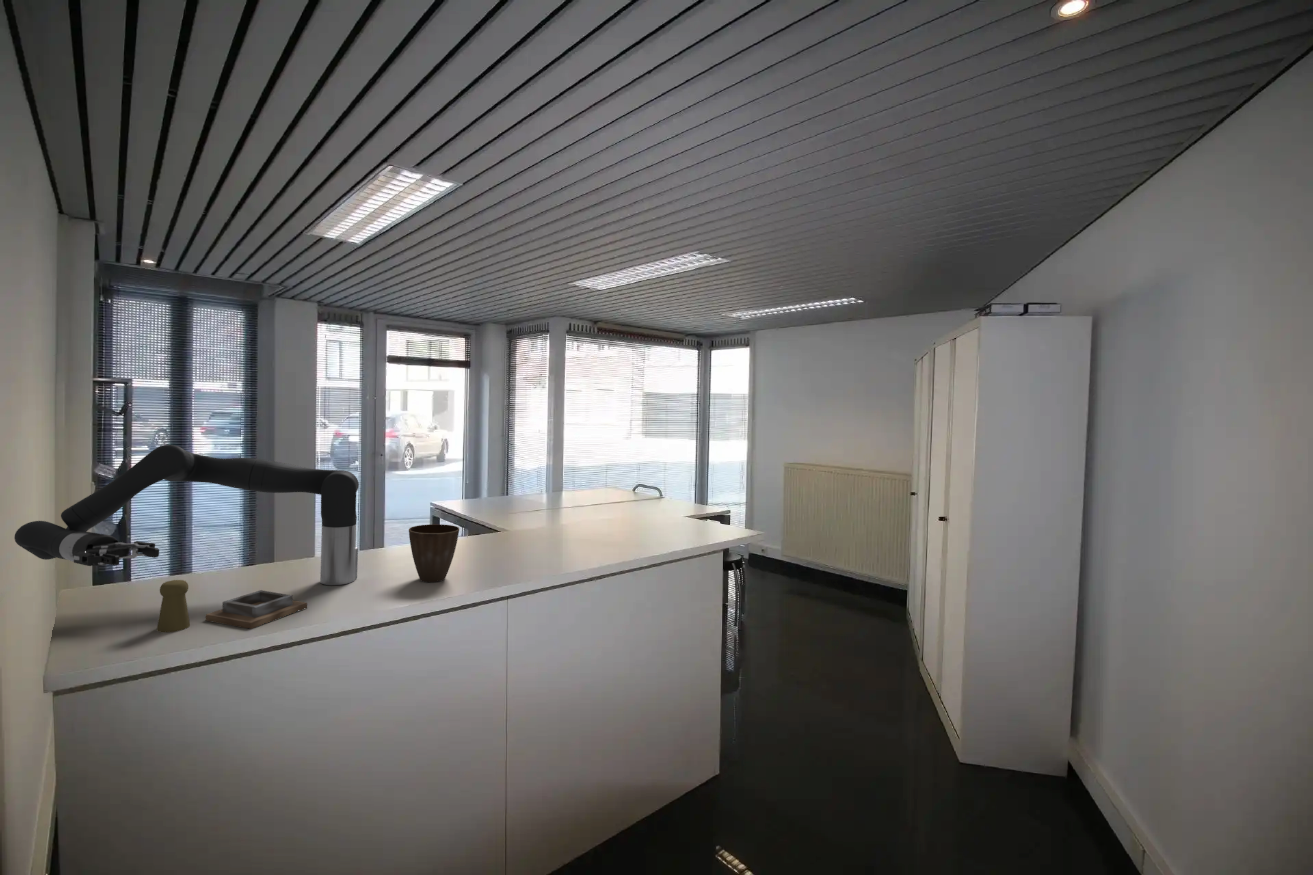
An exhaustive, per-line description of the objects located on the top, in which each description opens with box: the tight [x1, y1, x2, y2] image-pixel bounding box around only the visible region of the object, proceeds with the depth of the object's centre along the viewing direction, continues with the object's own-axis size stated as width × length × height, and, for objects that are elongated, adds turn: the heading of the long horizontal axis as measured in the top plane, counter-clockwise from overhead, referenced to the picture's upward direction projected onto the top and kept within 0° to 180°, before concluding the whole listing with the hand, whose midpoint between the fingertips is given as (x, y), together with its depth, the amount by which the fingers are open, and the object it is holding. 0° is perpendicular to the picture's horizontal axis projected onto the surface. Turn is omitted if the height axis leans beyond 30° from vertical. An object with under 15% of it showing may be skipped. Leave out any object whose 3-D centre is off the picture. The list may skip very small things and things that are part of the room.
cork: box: [156, 579, 191, 633], centre depth 140 cm, size 6×6×11 cm
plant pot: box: [408, 523, 460, 583], centre depth 189 cm, size 15×15×16 cm
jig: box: [205, 589, 308, 630], centre depth 151 cm, size 16×14×4 cm
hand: (138, 556), depth 143 cm, fingers open, 8 cm apart
